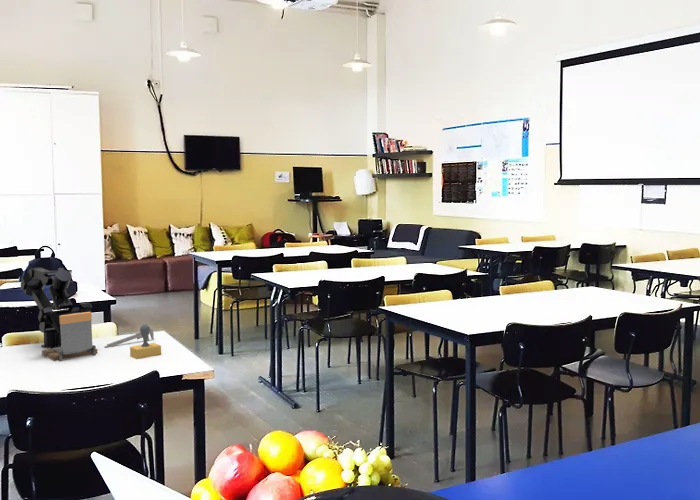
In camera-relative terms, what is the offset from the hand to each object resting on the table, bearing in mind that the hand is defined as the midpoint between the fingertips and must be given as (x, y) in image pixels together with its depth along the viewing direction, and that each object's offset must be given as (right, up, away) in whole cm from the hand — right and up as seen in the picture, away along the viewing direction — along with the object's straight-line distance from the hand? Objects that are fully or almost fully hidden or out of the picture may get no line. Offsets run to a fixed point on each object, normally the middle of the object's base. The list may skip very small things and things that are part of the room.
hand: (72, 330), depth 258 cm
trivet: (-2, -9, +3) cm, 10 cm away
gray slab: (+3, -8, -2) cm, 8 cm away
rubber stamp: (+27, -10, +1) cm, 29 cm away
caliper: (+15, -8, +20) cm, 26 cm away
